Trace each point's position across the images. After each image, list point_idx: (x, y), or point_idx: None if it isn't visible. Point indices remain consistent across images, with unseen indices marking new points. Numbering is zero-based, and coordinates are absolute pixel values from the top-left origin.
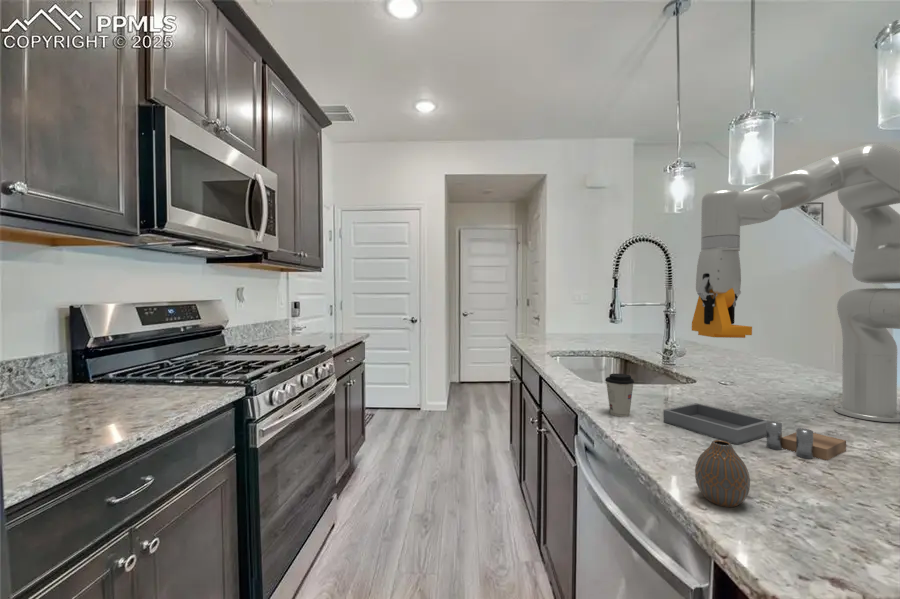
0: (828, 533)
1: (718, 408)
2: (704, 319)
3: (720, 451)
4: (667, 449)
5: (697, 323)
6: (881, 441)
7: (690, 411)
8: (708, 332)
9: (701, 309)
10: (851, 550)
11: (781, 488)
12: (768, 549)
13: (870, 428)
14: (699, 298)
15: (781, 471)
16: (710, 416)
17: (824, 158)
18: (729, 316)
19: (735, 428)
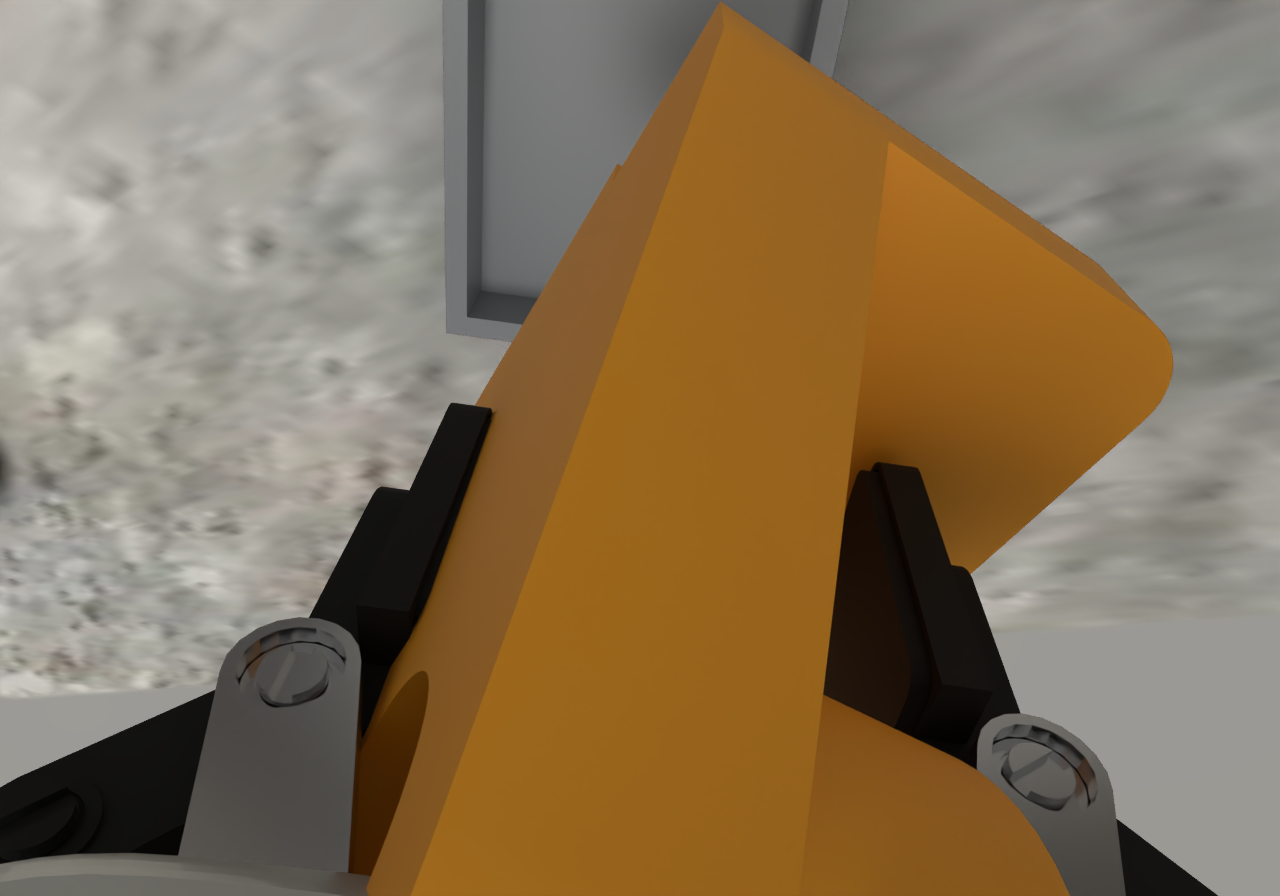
0: (71, 622)
1: (830, 74)
2: (434, 441)
3: None
4: (90, 128)
5: (619, 204)
6: (1023, 608)
7: None
8: (491, 385)
9: (518, 453)
10: (50, 654)
11: (198, 515)
12: None
13: (1244, 564)
14: (508, 594)
15: (333, 482)
16: (811, 11)
17: None
18: (832, 677)
19: (466, 315)
